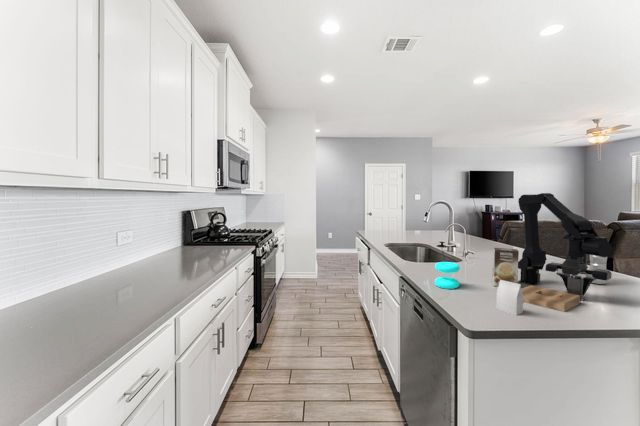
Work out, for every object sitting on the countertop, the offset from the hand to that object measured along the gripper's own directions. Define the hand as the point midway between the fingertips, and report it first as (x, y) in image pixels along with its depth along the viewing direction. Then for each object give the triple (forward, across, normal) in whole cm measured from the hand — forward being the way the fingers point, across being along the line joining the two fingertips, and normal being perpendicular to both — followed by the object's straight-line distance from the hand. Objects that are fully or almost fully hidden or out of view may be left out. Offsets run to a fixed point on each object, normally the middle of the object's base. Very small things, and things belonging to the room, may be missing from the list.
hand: (576, 293), depth 120 cm
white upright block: (+2, -8, -34) cm, 35 cm away
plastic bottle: (+2, -2, +32) cm, 32 cm away
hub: (+2, -5, -13) cm, 14 cm away
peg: (+2, 0, 0) cm, 2 cm away
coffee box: (+2, -24, -4) cm, 25 cm away
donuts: (+2, -38, -25) cm, 46 cm away
